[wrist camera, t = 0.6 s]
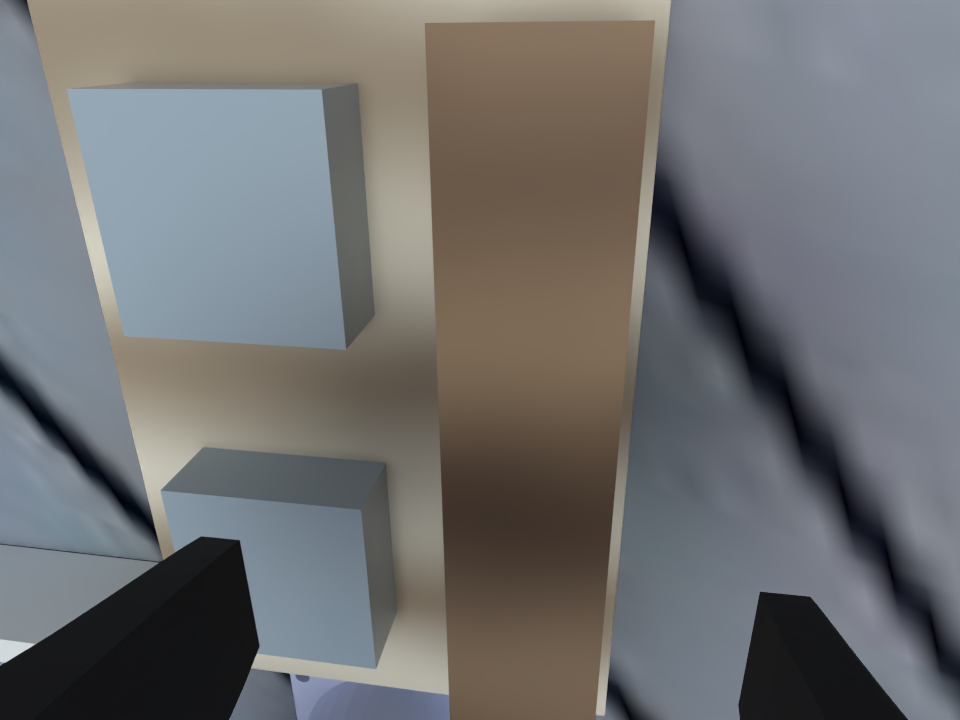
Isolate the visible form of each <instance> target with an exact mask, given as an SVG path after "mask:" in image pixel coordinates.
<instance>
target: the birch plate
mask: <svg viewBox="0 0 960 720" xmlns="http://www.w3.org/2000/svg"><path fill="white" fill-rule="evenodd" d="M27 2H28V6H29V11H30V15H31V19H32V23H33V27H34V31H35V35H36V39H37V43H38V48H39V52H40V56H41V60H42V64H43V68H44V72H45V76H46V80H47V85H48V89H49V93H50V97H51V101H52V105H53V109H54V113H55V117H56V122H57V126H58V130H59V134H60V138H61V142H62V146H63V150H64V154H65V158H66V163H67V167H68V171H69V175H70V179H71V183H72V187H73V191H74V195H75V200H76V204H77V208H78V212H79V216H80V220H81V224H82V228H83V232H84V237H85V241H86V245H87V249H88V253H89V257H90V261H91V265H92V269H93V274H94V278H95V282H96V286H97V290H98V294H99V298H100V302H101V306H102V311H103V315H104V319H105V323H106V327H107V331H108V335H109V339H110V343H111V348H112V352H113V356H114V360H115V364H116V368H117V372H118V376H119V380H120V385H121V389H122V393H123V397H124V401H125V405H126V409H127V413H128V417H129V422H130V426H131V430H132V434H133V438H134V442H135V446H136V450H137V454H138V459H139V463H140V467H141V471H142V475H143V479H144V483H145V487H146V491H147V496H148V500H149V504H150V508H151V512H152V516H153V520H154V524H155V528H156V533H157V537H158V541H159V545H160V549H161V553H162V557H163V560H164V559H166V558H167V557H169V556H170V555H172V554H173V553H175V551H174V547H173V543H172V538H171V534H170V530H169V525H168V521H167V517H166V513H165V508H164V504H163V500H162V495H161V491H160V490H161V489H162V488H163V487H164V486H165V485H166V484H167V483H168V482H169V481H170V480H171V479H172V478H173V477H174V476H175V475H176V474H177V473H178V472H179V471H180V470H181V469H182V468H183V467H184V466H185V465H186V464H187V463H188V462H189V461H190V460H191V459H192V458H193V457H194V456H195V455H196V454H197V453H198V452H199V451H200V450H201V449H202V448H203V447H208V448H220V449H232V450H244V451H255V452H267V453H279V454H290V455H302V456H314V457H325V458H337V459H349V460H360V461H372V462H384V463H386V472H387V486H388V500H389V513H390V527H391V540H392V554H393V567H394V581H395V594H396V608H397V614H396V616H395V619H394V622H393V625H392V627H391V630H390V633H389V635H388V638H387V641H386V644H385V646H384V649H383V652H382V654H381V657H380V660H379V663H378V665H377V668H376V669H370V668H363V667H355V666H347V665H340V664H332V663H325V662H317V661H309V660H302V659H294V658H287V657H279V656H271V655H264V654H256V657H255V659H254V662H253V664H252V667H251V668H253V669H260V670H268V671H275V672H283V673H290V674H297V675H305V676H312V677H320V678H327V679H334V680H342V681H349V682H357V683H364V684H372V685H379V686H386V687H394V688H401V689H409V690H416V691H423V692H431V693H438V694H446V695H449V682H448V654H447V627H446V599H445V571H444V543H443V516H442V488H441V460H440V433H439V405H438V377H437V350H436V322H435V294H434V266H433V239H432V211H431V183H430V156H429V128H428V100H427V73H426V45H425V23H467V22H554V21H641V20H655V28H654V40H653V52H652V63H651V75H650V87H649V98H648V110H647V122H646V133H645V145H644V157H643V169H642V180H641V192H640V204H639V215H638V227H637V239H636V250H635V262H634V274H633V285H632V297H631V309H630V321H629V332H628V344H627V356H626V367H625V379H624V391H623V402H622V414H621V426H620V437H619V449H618V461H617V473H616V484H615V496H614V508H613V519H612V531H611V543H610V554H609V566H608V578H607V589H606V601H605V613H604V624H603V636H602V648H601V660H600V671H599V683H598V695H597V706H596V715H601V716H605V706H606V695H607V684H608V673H609V663H610V652H611V641H612V630H613V620H614V609H615V598H616V587H617V576H618V566H619V555H620V544H621V533H622V523H623V512H624V501H625V490H626V480H627V469H628V458H629V447H630V437H631V426H632V415H633V404H634V394H635V383H636V372H637V361H638V350H639V340H640V329H641V318H642V307H643V297H644V286H645V275H646V264H647V254H648V243H649V232H650V221H651V211H652V200H653V189H654V178H655V168H656V157H657V146H658V135H659V124H660V114H661V103H662V92H663V81H664V71H665V60H666V49H667V38H668V28H669V17H670V6H671V0H27ZM121 83H358V93H359V107H360V120H361V134H362V147H363V161H364V174H365V188H366V202H367V215H368V229H369V242H370V256H371V269H372V283H373V296H374V310H375V316H374V317H373V318H372V319H371V321H370V322H369V323H368V324H367V325H366V327H365V328H364V329H363V330H362V331H361V332H360V334H359V335H358V336H357V337H356V338H355V340H354V341H353V342H352V343H351V344H350V346H349V347H348V348H347V349H346V350H342V349H326V348H309V347H293V346H277V345H260V344H244V343H228V342H211V341H195V340H179V339H162V338H146V337H129V336H124V333H123V328H122V324H121V320H120V315H119V311H118V307H117V303H116V298H115V294H114V290H113V285H112V281H111V277H110V273H109V268H108V264H107V260H106V255H105V251H104V247H103V243H102V238H101V234H100V230H99V225H98V221H97V217H96V213H95V208H94V204H93V200H92V195H91V191H90V187H89V183H88V178H87V174H86V170H85V165H84V161H83V157H82V153H81V148H80V144H79V140H78V135H77V131H76V127H75V123H74V118H73V114H72V110H71V106H70V101H69V97H68V93H67V89H71V88H81V87H91V86H101V85H111V84H121Z"/></svg>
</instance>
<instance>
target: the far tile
mask: <svg viewBox="0 0 960 720" xmlns="http://www.w3.org/2000/svg"><path fill="white" fill-rule="evenodd" d="M160 491H161V495H162V500H163V504H164V508H165V513H166V517H167V521H168V525H169V530H170V534H171V538H172V543H173V547H174V551H175V552H176V551H178V550H179V549H181V548H183V547H184V546H186V545H187V544H189V543H191V542H192V541H194V540H196V539H197V538H199V537H201V536H204V537H214V538H224V539H234V540H240V544H241V549H242V554H243V560H244V565H245V570H246V575H247V581H248V586H249V591H250V597H251V602H252V607H253V613H254V618H255V623H256V629H257V634H258V639H259V645H260V647H259V649H258V652H257V654H264V655H271V656H279V657H287V658H294V659H302V660H309V661H317V662H325V663H332V664H340V665H347V666H355V667H363V668H370V669H376V668H377V665H378V663H379V660H380V657H381V654H382V652H383V649H384V646H385V644H386V641H387V638H388V635H389V633H390V630H391V627H392V625H393V622H394V619H395V616H396V614H397V608H396V594H395V581H394V567H393V554H392V540H391V527H390V513H389V500H388V486H387V472H386V463H384V462H372V461H360V460H349V459H337V458H325V457H314V456H302V455H290V454H279V453H267V452H255V451H244V450H232V449H220V448H208V447H203V448H202V449H201V450H200V451H199V452H198V453H197V454H196V455H195V456H194V457H193V458H192V459H191V460H190V461H189V462H188V463H187V464H186V465H185V466H184V467H183V468H182V469H181V470H180V471H179V472H178V473H177V474H176V475H175V476H174V477H173V478H172V479H171V480H170V481H169V482H168V483H167V484H166V485H165V486H164V487H163V488H162V489H161V490H160Z"/></svg>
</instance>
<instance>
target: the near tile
mask: <svg viewBox="0 0 960 720" xmlns="http://www.w3.org/2000/svg"><path fill="white" fill-rule="evenodd" d="M67 93H68V97H69V101H70V106H71V110H72V114H73V118H74V123H75V127H76V131H77V135H78V140H79V144H80V148H81V153H82V157H83V161H84V165H85V170H86V174H87V178H88V183H89V187H90V191H91V195H92V200H93V204H94V208H95V213H96V217H97V221H98V225H99V230H100V234H101V238H102V243H103V247H104V251H105V255H106V260H107V264H108V268H109V273H110V277H111V281H112V285H113V290H114V294H115V298H116V303H117V307H118V311H119V315H120V320H121V324H122V328H123V333H124V336H129V337H146V338H162V339H179V340H195V341H211V342H228V343H244V344H260V345H277V346H293V347H309V348H326V349H342V350H346V349H347V348H348V347H349V346H350V344H351V343H352V342H353V341H354V340H355V338H356V337H357V336H358V335H359V334H360V332H361V331H362V330H363V329H364V328H365V327H366V325H367V324H368V323H369V322H370V321H371V319H372V318H373V317H374V316H375V310H374V296H373V283H372V269H371V256H370V242H369V229H368V215H367V202H366V188H365V174H364V161H363V147H362V134H361V120H360V107H359V93H358V83H121V84H111V85H101V86H91V87H81V88H71V89H67Z"/></svg>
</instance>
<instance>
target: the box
mask: <svg viewBox="0 0 960 720" xmlns="http://www.w3.org/2000/svg"><path fill="white" fill-rule="evenodd" d="M157 564H158V562H149V561H140V560H132V559H123V558H114V557H105V556H96V555H88V554H79V553H70V552H61V551H52V550H43V549H35V548H26V547H17V546H8V545H0V662H7V661H9V660H11V659H12V658H14V657H15V656H17V655H19V654H20V653H22V652H23V651H25V650H27V649H28V648H30V647H32V646H33V645H35V644H36V643H38V642H40V641H41V640H43V639H45V638H46V637H48V636H49V635H51V634H53V633H54V632H56V631H57V630H59V629H60V628H62V627H63V626H65V625H66V624H68V623H69V622H71V621H73V620H74V619H76V618H77V617H79V616H80V615H82V614H83V613H85V612H86V611H88V610H89V609H91V608H92V607H94V606H95V605H97V604H98V603H100V602H101V601H103V600H104V599H106V598H107V597H109V596H110V595H112V594H113V593H115V592H116V591H118V590H119V589H121V588H122V587H124V586H125V585H127V584H128V583H130V582H131V581H133V580H134V579H136V578H137V577H139V576H140V575H142V574H143V573H145V572H146V571H148V570H149V569H151V568H152V567H154V566H155V565H157Z"/></svg>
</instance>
